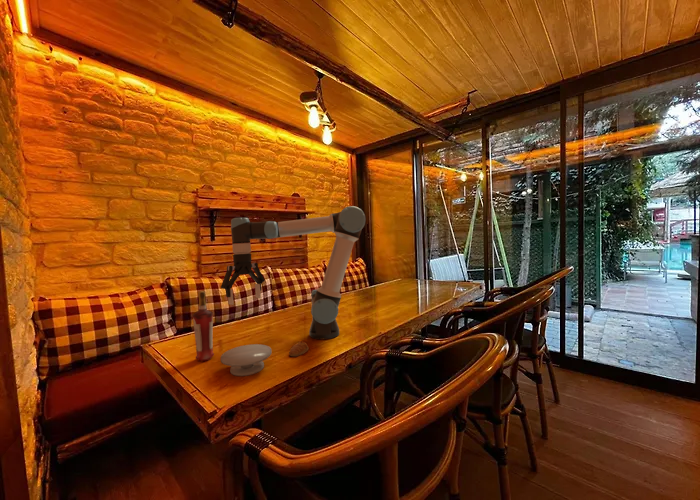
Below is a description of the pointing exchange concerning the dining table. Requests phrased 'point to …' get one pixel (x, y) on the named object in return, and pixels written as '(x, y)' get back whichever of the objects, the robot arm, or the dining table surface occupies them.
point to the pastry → (298, 349)
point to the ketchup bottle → (203, 330)
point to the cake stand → (246, 359)
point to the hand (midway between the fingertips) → (245, 301)
